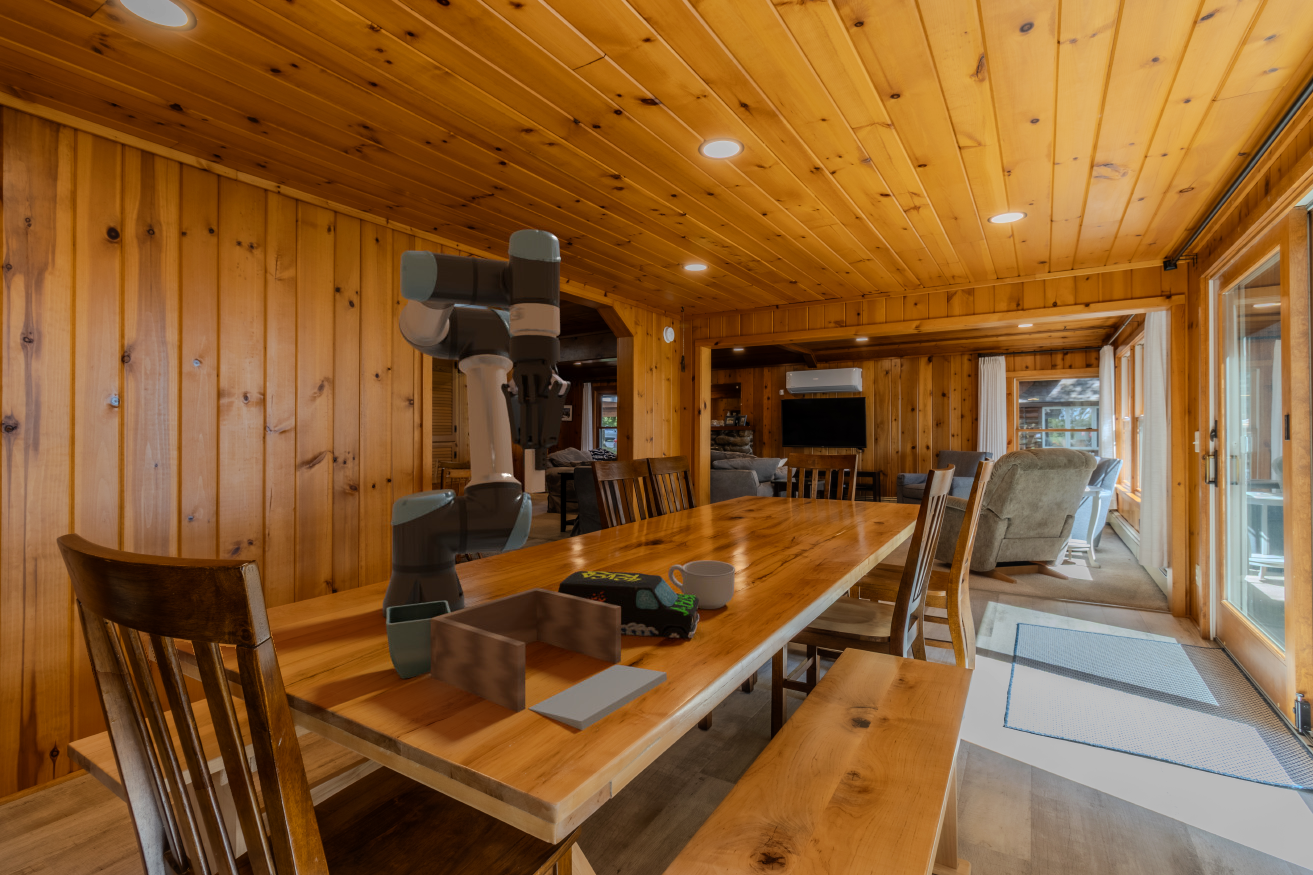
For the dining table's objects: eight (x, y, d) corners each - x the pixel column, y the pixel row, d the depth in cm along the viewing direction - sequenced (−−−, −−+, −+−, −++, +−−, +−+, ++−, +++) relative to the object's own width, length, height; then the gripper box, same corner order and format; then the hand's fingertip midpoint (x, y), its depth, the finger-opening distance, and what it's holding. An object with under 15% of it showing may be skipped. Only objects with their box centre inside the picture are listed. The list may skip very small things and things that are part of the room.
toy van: (694, 649, 100) (694, 588, 100) (550, 639, 104) (550, 581, 104) (701, 627, 110) (701, 573, 110) (570, 619, 115) (570, 567, 114)
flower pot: (386, 687, 84) (385, 623, 84) (386, 664, 92) (386, 606, 92) (452, 677, 88) (452, 615, 88) (447, 656, 96) (447, 599, 96)
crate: (430, 685, 85) (430, 618, 85) (537, 644, 101) (537, 587, 101) (518, 722, 74) (517, 645, 74) (620, 669, 91) (621, 606, 91)
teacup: (743, 602, 125) (743, 564, 125) (720, 616, 116) (720, 574, 116) (685, 592, 133) (685, 556, 133) (658, 604, 124) (658, 565, 124)
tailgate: (528, 708, 75) (581, 721, 70) (616, 664, 89) (666, 672, 84) (529, 717, 75) (582, 731, 70) (617, 672, 89) (667, 681, 84)
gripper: (486, 337, 93) (487, 491, 93) (547, 329, 85) (547, 497, 86) (524, 342, 99) (524, 487, 99) (583, 336, 91) (583, 492, 92)
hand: (535, 491), depth 92 cm, fingers closed
